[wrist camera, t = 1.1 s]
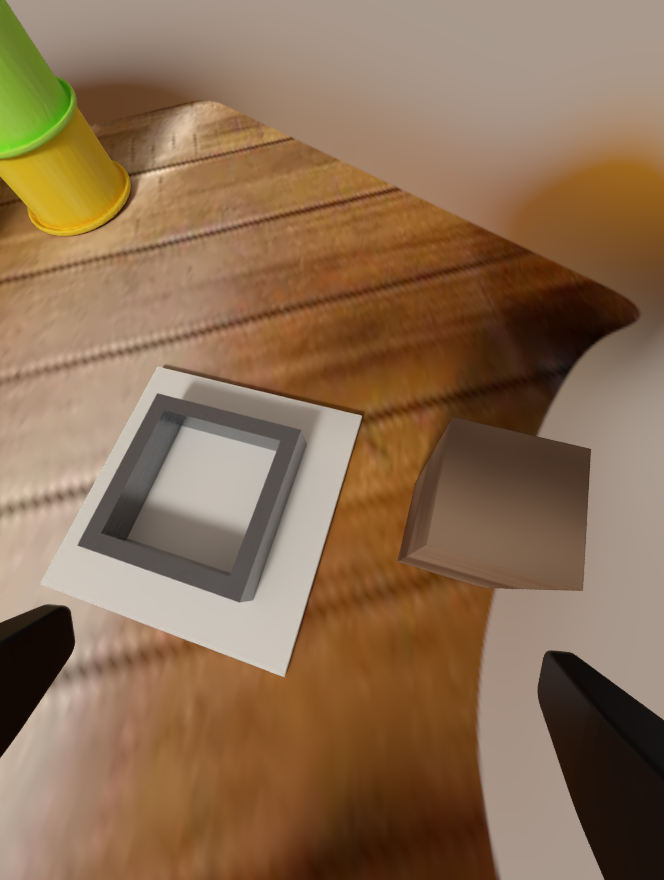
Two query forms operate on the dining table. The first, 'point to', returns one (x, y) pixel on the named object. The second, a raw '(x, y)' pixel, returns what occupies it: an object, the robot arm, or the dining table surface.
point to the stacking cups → (51, 143)
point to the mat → (218, 524)
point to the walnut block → (500, 510)
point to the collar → (142, 470)
